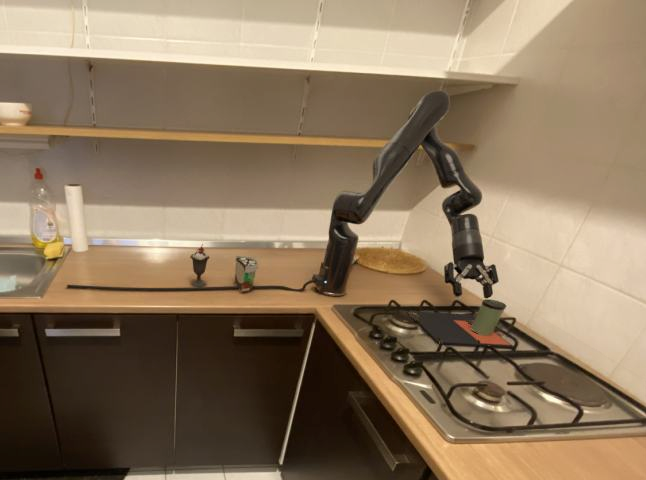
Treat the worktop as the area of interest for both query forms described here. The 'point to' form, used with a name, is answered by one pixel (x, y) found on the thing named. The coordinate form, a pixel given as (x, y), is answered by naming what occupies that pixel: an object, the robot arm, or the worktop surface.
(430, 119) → the robot arm
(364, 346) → the worktop surface
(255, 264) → the food container
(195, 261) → the sundae
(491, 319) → the tea tin
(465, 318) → the corner mat
